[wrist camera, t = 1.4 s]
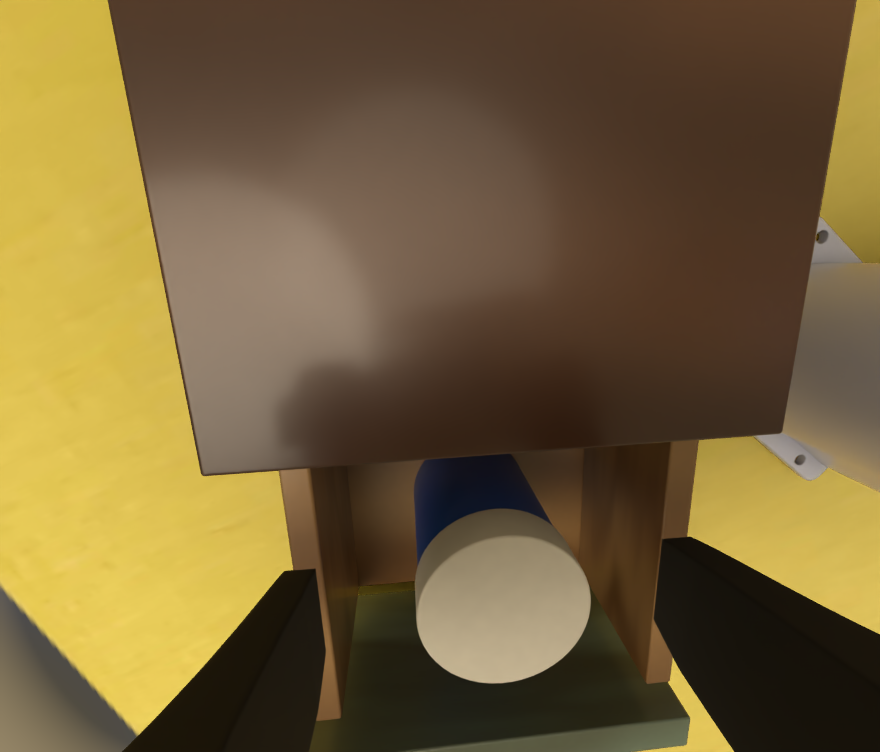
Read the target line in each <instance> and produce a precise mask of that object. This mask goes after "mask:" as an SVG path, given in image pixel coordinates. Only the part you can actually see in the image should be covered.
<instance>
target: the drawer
mask: <svg viewBox="0 0 880 752" xmlns="http://www.w3.org/2000/svg"><path fill="white" fill-rule="evenodd" d="M698 442H699V440H690V441H676V442H663V443H649V444H635V445H622V446H608V447H595V448H581V449H567V450H554V451H540V452H526V453H513V454H511V455H512V456H513V458H514V459H515V460H516V462H517V464H518V465H519V467H520V469H521V471H522V472H523V474H524V476H525V478H526V479H527V481H528V483H529V485H530V486H531V488H532V490H533V492H534V493H535V495H536V497H537V499H538V500H539V502H540V504H541V506H542V507H543V509H544V511H545V513H546V514H547V516H548V518H549V520H550V521H551V523H552V525H553V527H555V528H556V529H557V531H558V532H559V533H560V534H561V535H562V536H563V538H564V539H565V541H566V542H567V544H568V546H569V547H570V549H571V551H572V553H573V554H574V556H575V558H576V559H577V561H578V563H579V564H580V566H581V568H582V570H583V572H584V574H585V576H586V578H587V581H588V584H589V588H590V595H591V606H590V613H589V618H588V621H587V624H586V627H585V629H584V631H583V633H582V635H581V637H580V638H579V640H578V641H577V643H576V644H575V645H574V647H573V648H572V649H571V650H570V651H569V652H568V653H567V654H566V655H565V656H564V657H563V658H562V659H561V660H559V661H558V662H557V663H555V664H554V665H553V666H551V667H549V668H548V669H546V670H544V671H543V672H540V673H538V674H536V675H534V676H531V677H528V678H525V679H522V680H518V681H513V682H506V683H481V682H475V681H470V680H467V679H464V678H461V677H459V676H456V675H454V674H452V673H450V672H449V671H447V670H446V669H444V668H442V667H441V666H440V665H439V664H438V663H437V662H435V660H434V659H433V658H432V657H431V656H430V655H429V653H428V652H427V650H426V649H425V647H424V646H423V644H422V641H421V639H420V637H419V633H418V629H417V621H416V600H415V590H412V591H401V592H391V593H380V594H370V595H359V596H358V592H359V586H368V585H379V584H389V583H400V582H411V581H415V576H416V571H417V567H418V566H417V546H416V526H415V506H414V484H415V479H416V476H417V473H418V471H419V469H420V467H421V465H422V464H423V463H424V461H425V460H417V461H403V462H390V463H376V464H362V465H349V466H335V467H321V468H308V469H294V470H280V471H279V476H280V483H281V489H282V496H283V503H284V510H285V516H286V523H287V530H288V537H289V544H290V550H291V557H292V564H293V570H303V569H315V568H316V576H317V584H318V592H319V600H320V607H321V615H322V623H323V631H324V639H325V647H326V656H325V664H324V672H323V680H322V688H321V695H320V702H319V710H318V714H317V719H316V723H315V728H314V732H313V736H312V741H311V745H310V749H309V752H635V751H643V750H651V749H660V748H668V747H676V746H684V745H686V744H687V738H688V731H689V724H690V717H689V715H688V714H687V712H686V711H685V709H684V707H683V706H682V704H681V703H680V701H679V699H678V698H677V696H676V695H675V693H674V692H673V690H672V688H671V687H670V685H669V684H668V681H670V674H671V666H672V658H673V656H672V655H671V653H670V651H669V649H668V647H667V645H666V643H665V641H664V639H663V637H662V635H661V633H660V631H659V629H658V627H657V625H656V623H655V621H654V619H653V618H654V609H655V600H656V591H657V582H658V572H659V563H660V554H661V545H662V539H668V538H680V537H687V533H688V525H689V517H690V508H691V500H692V492H693V483H694V475H695V467H696V459H697V450H698Z"/></svg>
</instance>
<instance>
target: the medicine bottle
mask: <svg viewBox="0 0 880 752" xmlns="http://www.w3.org/2000/svg"><path fill="white" fill-rule="evenodd" d="M414 506H415V526H416V546H417V566H418V567H417V571H416V576H415V600H416V621H417V629H418V633H419V637H420V639H421V641H422V644H423V646H424V647H425V649H426V650H427V652H428V653H429V655H430V656H431V657H432V658H433V659H434V660H435V662H437V663H438V664H439V665H440V666H441V667H442V668H444V669H446V670H447V671H449V672H450V673H452V674H454V675H456V676H459V677H461V678H464V679H467V680H470V681H475V682H481V683H506V682H513V681H518V680H522V679H525V678H528V677H531V676H534V675H536V674H538V673H540V672H543V671H544V670H546V669H548V668H549V667H551V666H553V665H554V664H555V663H557V662H558V661H559V660H561V659H562V658H563V657H564V656H565V655H566V654H567V653H568V652H569V651H570V650H571V649H572V648H573V647H574V645H575V644H576V643H577V641H578V640H579V638H580V637H581V635H582V633H583V631H584V629H585V627H586V624H587V621H588V618H589V613H590V606H591V595H590V588H589V584H588V581H587V578H586V576H585V574H584V572H583V570H582V568H581V566H580V564H579V563H578V561H577V559H576V558H575V556H574V554H573V553H572V551H571V549H570V547H569V546H568V544H567V542H566V541H565V539H564V538H563V536H562V535H561V534H560V533H559V532H558V531H557V529H556V528H555V527H553V525H552V523H551V521H550V520H549V518H548V516H547V514H546V513H545V511H544V509H543V507H542V506H541V504H540V502H539V500H538V499H537V497H536V495H535V493H534V492H533V490H532V488H531V486H530V485H529V483H528V481H527V479H526V478H525V476H524V474H523V472H522V471H521V469H520V467H519V465H518V464H517V462H516V460H515V459H514V458H513V456H512V455H511V454H499V455H485V456H472V457H458V458H444V459H431V460H425V461H424V463H423V464H422V465H421V467H420V469H419V471H418V473H417V476H416V479H415V484H414Z"/></svg>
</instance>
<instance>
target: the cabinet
mask: <svg viewBox="0 0 880 752" xmlns="http://www.w3.org/2000/svg"><path fill="white" fill-rule="evenodd" d="M856 1H857V0H108V4H109V9H110V14H111V19H112V24H113V29H114V34H115V40H116V45H117V50H118V55H119V60H120V65H121V70H122V75H123V80H124V85H125V90H126V95H127V100H128V105H129V110H130V115H131V121H132V126H133V131H134V136H135V141H136V146H137V151H138V156H139V161H140V166H141V171H142V176H143V181H144V186H145V191H146V197H147V202H148V207H149V212H150V217H151V222H152V227H153V232H154V237H155V242H156V247H157V252H158V257H159V262H160V267H161V273H162V278H163V283H164V288H165V293H166V298H167V303H168V308H169V313H170V318H171V323H172V328H173V333H174V338H175V343H176V349H177V354H178V359H179V364H180V369H181V374H182V379H183V384H184V389H185V394H186V399H187V404H188V409H189V414H190V419H191V425H192V430H193V435H194V440H195V445H196V450H197V455H198V460H199V465H200V470H201V474H202V475H203V476H212V475H226V474H239V473H253V472H267V471H280V470H294V469H308V468H321V467H335V466H349V465H362V464H376V463H390V462H403V461H417V460H431V459H444V458H458V457H472V456H485V455H499V454H513V453H526V452H540V451H554V450H567V449H581V448H595V447H608V446H622V445H635V444H649V443H663V442H676V441H690V440H704V439H717V438H731V437H745V436H758V435H772V434H780V433H782V431H783V425H784V419H785V413H786V408H787V402H788V396H789V390H790V384H791V379H792V373H793V367H794V361H795V355H796V349H797V344H798V338H799V332H800V326H801V320H802V315H803V309H804V303H805V297H806V291H807V286H808V280H809V274H810V268H811V262H812V257H813V251H814V245H815V239H816V233H817V228H818V222H819V216H820V210H821V204H822V198H823V193H824V187H825V181H826V175H827V169H828V164H829V158H830V152H831V146H832V140H833V135H834V129H835V123H836V117H837V111H838V106H839V100H840V94H841V88H842V82H843V77H844V71H845V65H846V59H847V53H848V48H849V42H850V36H851V30H852V24H853V18H854V13H855V7H856Z"/></svg>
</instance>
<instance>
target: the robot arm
mask: <svg viewBox="0 0 880 752" xmlns="http://www.w3.org/2000/svg"><path fill="white" fill-rule="evenodd" d="M818 233H819V239H818V241H816V239H815V245H814V251H813V257H812V262H811V268H810V274H809V280H808V286H807V291H806V297H805V303H804V309H803V315H802V320H801V326H800V332H799V338H798V344H797V349H796V355H795V361H794V367H793V373H792V379H791V384H790V390H789V396H788V402H787V408H786V413H785V419H784V425H783V431H782V433H780V434H772V435H758V436H753V437H754V438H756V439H757V440H758V441H759V442H760V443H761V444H762V445H764V446H765V447H766V448H767V449H768V450H769V451H771V452H772V453H773V454H774V455H775V456H776V457H778V458H779V459H780V460H781V461H782V462H783V463H785V464H786V465H787V466H788V467H789V468H790V469H791V470H793V471H794V472H795V473H796V474H797V475H798V476H800V477H802V478H804V479H806V480H814V479H816V478H818V477H819V476H820V475H821V474H822V473H823V472H824V471H825V470H826V469H827V468H830V469H832V470H835V471H837V472H839V473H841V474H843V475H845V476H847V477H849V478H851V479H853V480H855V481H857V482H859V483H861V484H863V485H866V486H868V487H870V488H872V489H874V490H876V491H878V492H880V263H863V262H862V261H861V260H860V259H859V258H858V257H857V256H856V255H855V254H854V252H853V251H852V250H851V249H850V248H849V247H848V246H847V245H846V244H845V243H844V241H843V240H842V239H841V238H840V237H839V236H838V235H837V234H836V233H835V232H834V231H833V229H832V228H831V227H830V226H829V225H828V224H827V223H826V222H825V221H824V220H823V219H822V218H821V217H819V222H818V228H817V233H816V235H817V234H818ZM797 456H798V457H797ZM796 457H797V459H796ZM795 459H796V460H795ZM653 619H654V621H655V623H656V625H657V627H658V629H659V631H660V633H661V635H662V637H663V639H664V641H665V643H666V645H667V647H668V649H669V651H670V653H671V655H672V656H673V658H674V660H675V662H676V664H677V666H678V667H679V669H680V671H681V673H682V674H683V676H684V677H685V679H686V680H687V682H688V683H689V685H690V686H691V688H692V689H693V691H694V692H695V694H696V695H697V697H698V698H699V700H700V701H701V703H702V704H703V706H704V707H705V709H706V710H707V712H708V713H709V715H710V716H711V718H712V719H713V721H714V722H715V724H716V725H717V727H718V728H719V730H720V731H721V733H722V734H723V736H724V737H725V739H726V740H727V741H728V743H729V744H730V746H731V747H732V749H733V750H734V752H880V634H878V633H876V632H874V631H872V630H869V629H867V628H865V627H863V626H861V625H859V624H857V623H855V622H853V621H851V620H849V619H847V618H845V617H843V616H841V615H839V614H837V613H835V612H833V611H832V610H830V609H828V608H826V607H824V606H822V605H820V604H818V603H816V602H814V601H812V600H810V599H808V598H807V597H805V596H803V595H801V594H799V593H797V592H795V591H793V590H791V589H790V588H788V587H786V586H784V585H782V584H780V583H778V582H776V581H775V580H773V579H771V578H769V577H767V576H765V575H763V574H762V573H760V572H758V571H756V570H754V569H752V568H751V567H749V566H747V565H745V564H743V563H741V562H739V561H737V560H736V559H734V558H732V557H730V556H728V555H726V554H724V553H722V552H720V551H719V550H717V549H715V548H713V547H711V546H709V545H707V544H705V543H703V542H701V541H698V540H696V539H694V538H692V537H680V538H668V539H662V545H661V554H660V563H659V572H658V582H657V591H656V600H655V609H654V618H653ZM325 656H326V647H325V639H324V631H323V623H322V615H321V607H320V600H319V592H318V584H317V576H316V568H315V569H303V570H291V571H284V572H283V573H282V574H281V575H280V576H279V578H278V579H277V580H276V581H275V582H274V584H273V585H272V586H271V587H270V588H269V590H268V591H267V592H266V593H265V595H264V596H263V597H262V598H261V599H260V601H259V602H258V603H257V604H256V606H255V607H254V608H253V609H252V610H251V612H250V613H249V614H248V615H247V616H246V618H245V619H244V620H243V621H242V623H241V624H240V625H239V626H238V627H237V629H236V630H235V631H234V632H233V633H232V634H231V635H230V637H229V638H228V639H227V640H226V641H225V642H224V644H223V645H222V646H221V647H220V648H219V649H218V650H217V652H216V653H215V654H214V655H213V656H212V657H211V659H210V660H209V661H208V662H207V663H206V664H205V665H204V667H203V668H202V669H201V670H200V671H199V672H198V673H197V674H196V675H195V677H194V678H193V679H192V680H191V681H190V682H189V683H188V684H187V685H186V686H185V687H184V688H183V689H182V690H181V691H180V693H179V694H178V695H177V696H176V697H175V698H174V699H173V700H172V701H171V702H170V703H169V704H168V705H167V706H166V708H165V709H164V710H163V711H162V712H161V713H160V714H159V715H158V716H157V717H156V718H155V719H154V720H153V721H152V722H151V723H150V724H149V725H148V726H147V727H146V728H145V729H144V730H143V731H142V732H141V733H140V734H139V735H138V736H137V737H136V738H135V739H134V740H133V741H132V743H131V744H130V745H129V746H128V747H126V748H125V749H124V750H123V751H122V752H309V749H310V745H311V741H312V736H313V732H314V728H315V723H316V719H317V714H318V710H319V702H320V695H321V688H322V680H323V672H324V664H325Z"/></svg>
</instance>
